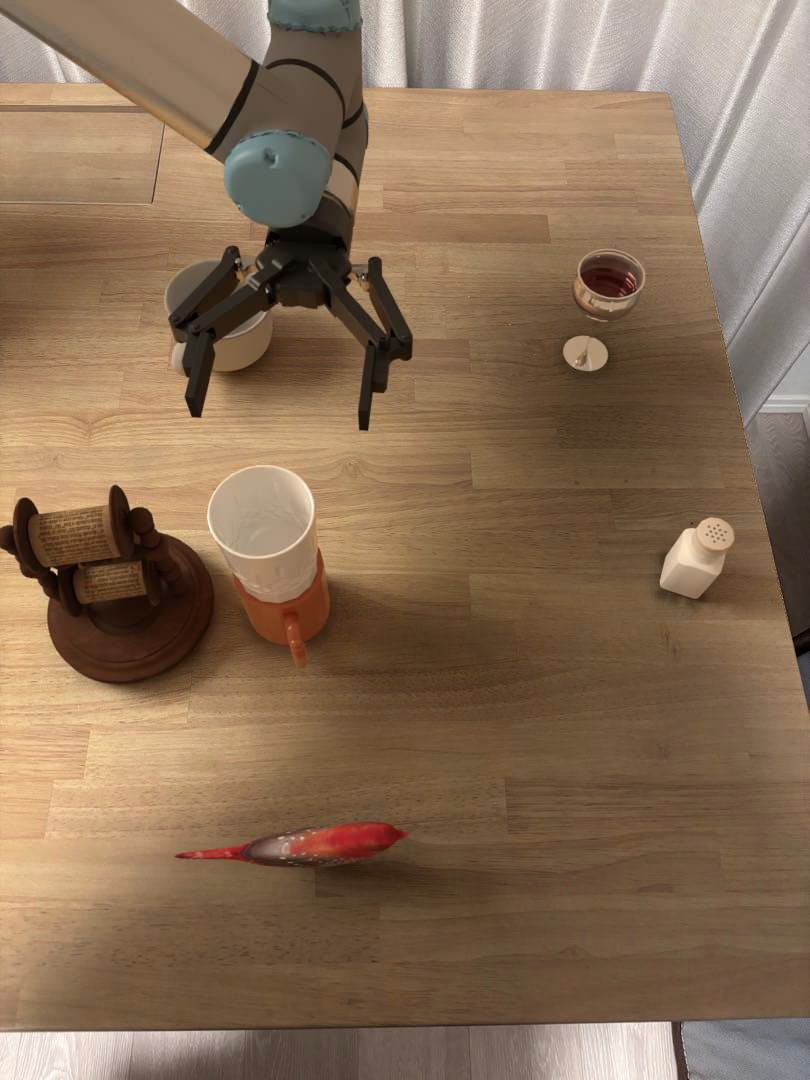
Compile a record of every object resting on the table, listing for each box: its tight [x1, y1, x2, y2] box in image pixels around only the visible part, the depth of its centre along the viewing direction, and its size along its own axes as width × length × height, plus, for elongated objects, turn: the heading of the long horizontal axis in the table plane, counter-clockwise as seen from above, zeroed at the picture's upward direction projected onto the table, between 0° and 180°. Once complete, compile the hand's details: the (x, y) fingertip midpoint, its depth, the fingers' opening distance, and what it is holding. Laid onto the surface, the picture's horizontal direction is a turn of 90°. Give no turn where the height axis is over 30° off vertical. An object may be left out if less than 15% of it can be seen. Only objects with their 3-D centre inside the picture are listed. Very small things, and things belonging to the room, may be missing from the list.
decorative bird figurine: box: [174, 821, 410, 869], centre depth 63 cm, size 3×18×10 cm, turn 95°
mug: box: [231, 546, 331, 669], centre depth 73 cm, size 11×8×9 cm
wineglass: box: [562, 248, 646, 372], centre depth 86 cm, size 7×7×12 cm
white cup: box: [206, 464, 319, 603], centre depth 65 cm, size 8×8×10 cm
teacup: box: [163, 257, 273, 378], centre depth 87 cm, size 14×11×8 cm
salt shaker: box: [659, 517, 735, 600], centre depth 75 cm, size 4×4×10 cm
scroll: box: [0, 484, 216, 686], centre depth 68 cm, size 15×15×20 cm
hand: (277, 414), depth 65 cm, fingers open, 13 cm apart
